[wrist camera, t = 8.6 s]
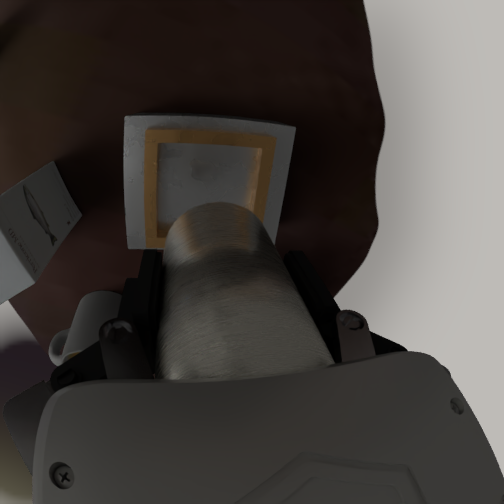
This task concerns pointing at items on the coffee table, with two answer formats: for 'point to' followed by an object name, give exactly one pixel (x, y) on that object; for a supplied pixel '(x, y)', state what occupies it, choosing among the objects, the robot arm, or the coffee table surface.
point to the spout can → (230, 301)
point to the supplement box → (33, 227)
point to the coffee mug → (85, 325)
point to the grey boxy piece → (201, 169)
